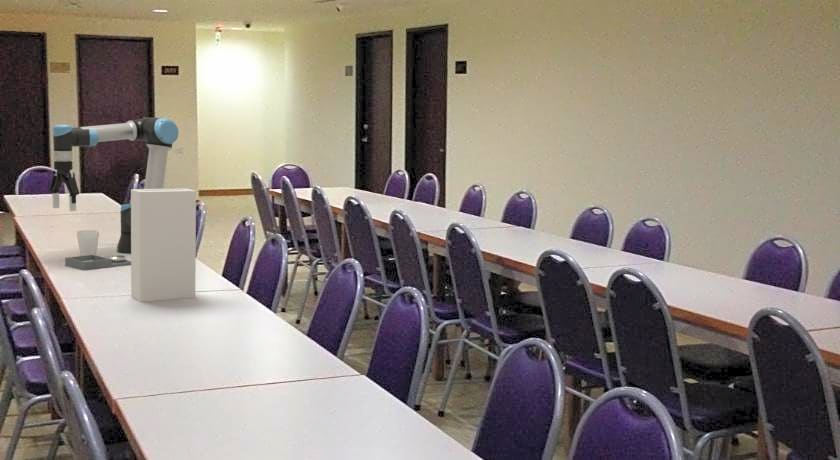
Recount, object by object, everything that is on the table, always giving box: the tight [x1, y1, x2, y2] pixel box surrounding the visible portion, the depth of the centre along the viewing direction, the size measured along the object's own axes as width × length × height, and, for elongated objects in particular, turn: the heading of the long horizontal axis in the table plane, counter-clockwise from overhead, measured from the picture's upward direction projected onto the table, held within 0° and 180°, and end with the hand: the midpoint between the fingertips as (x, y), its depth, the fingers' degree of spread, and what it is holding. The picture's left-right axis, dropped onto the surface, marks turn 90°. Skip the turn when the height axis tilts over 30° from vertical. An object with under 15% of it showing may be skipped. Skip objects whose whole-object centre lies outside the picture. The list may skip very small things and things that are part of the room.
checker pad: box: [104, 254, 126, 262], centre depth 423 cm, size 9×9×2 cm
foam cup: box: [76, 229, 100, 256], centre depth 429 cm, size 10×9×13 cm
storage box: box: [130, 187, 197, 303], centre depth 353 cm, size 21×10×40 cm, turn 124°
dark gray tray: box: [64, 254, 131, 271], centre depth 418 cm, size 25×15×4 cm, turn 140°
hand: (64, 209), depth 416 cm, fingers open, 13 cm apart
